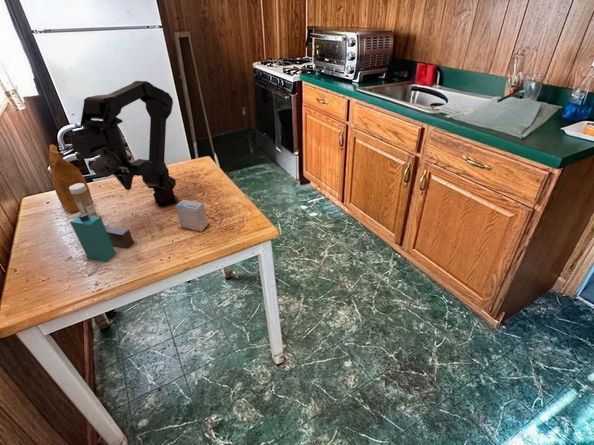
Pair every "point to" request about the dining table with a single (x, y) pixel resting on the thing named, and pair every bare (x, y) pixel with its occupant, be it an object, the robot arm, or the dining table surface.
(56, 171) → the coffee package
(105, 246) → the plastic bottle
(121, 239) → the walnut block
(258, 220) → the dining table surface
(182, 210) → the medicine box
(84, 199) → the sprinkles bottle
